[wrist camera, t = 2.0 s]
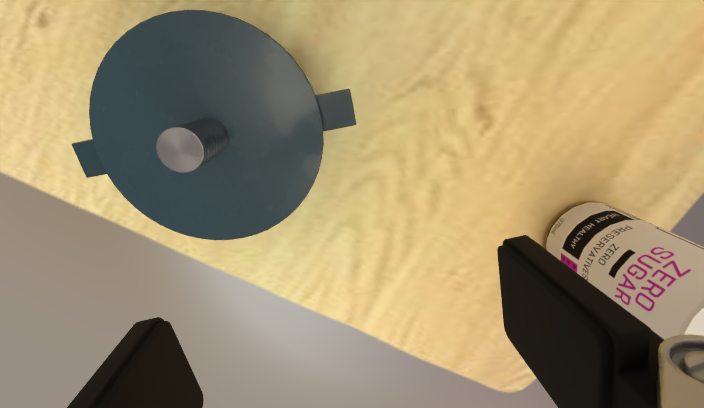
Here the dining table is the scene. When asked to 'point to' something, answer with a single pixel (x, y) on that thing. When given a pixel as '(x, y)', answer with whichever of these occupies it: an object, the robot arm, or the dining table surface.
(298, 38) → the dining table surface
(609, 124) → the dining table surface
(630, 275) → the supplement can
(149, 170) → the pot lid
